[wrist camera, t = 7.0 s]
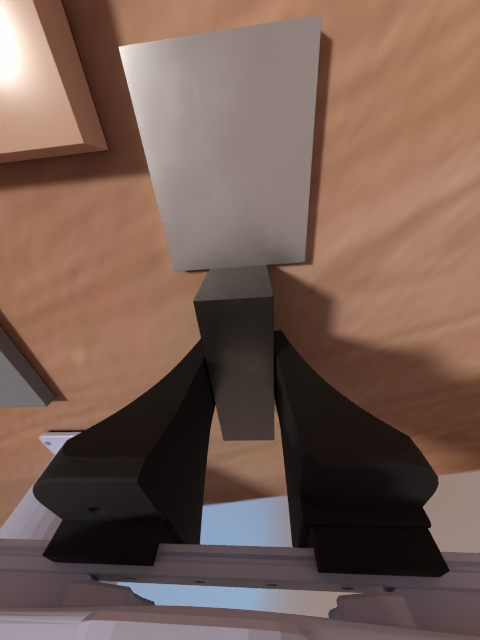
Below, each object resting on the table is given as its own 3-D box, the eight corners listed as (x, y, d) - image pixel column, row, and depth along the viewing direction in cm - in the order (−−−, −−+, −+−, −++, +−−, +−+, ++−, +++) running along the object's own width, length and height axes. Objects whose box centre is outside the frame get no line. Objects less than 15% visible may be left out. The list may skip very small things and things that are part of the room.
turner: (294, 379, 14) (308, 439, 11) (205, 382, 15) (191, 440, 11) (316, 28, 7) (388, -151, 3) (128, 57, 7) (11, -69, 4)
